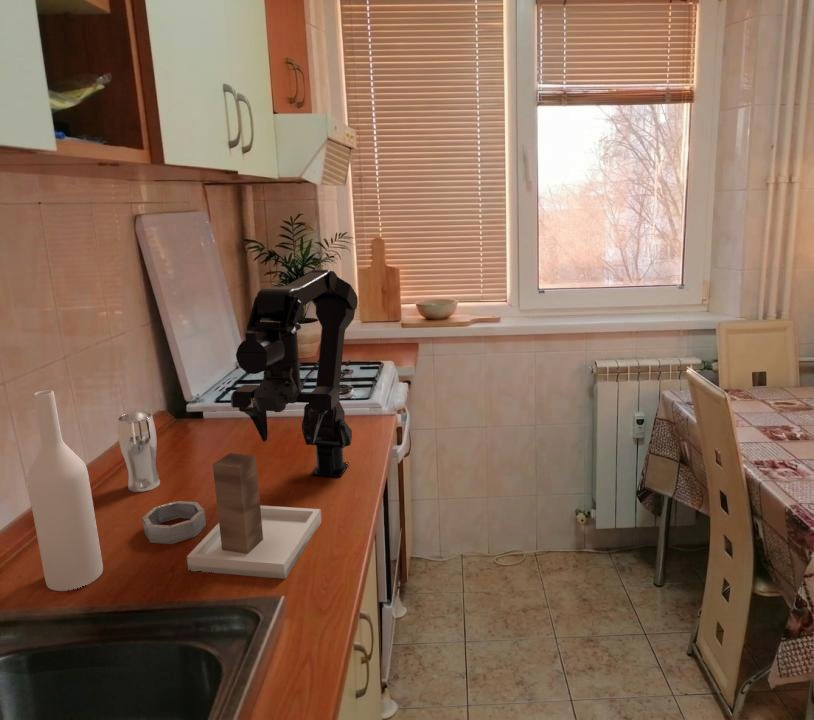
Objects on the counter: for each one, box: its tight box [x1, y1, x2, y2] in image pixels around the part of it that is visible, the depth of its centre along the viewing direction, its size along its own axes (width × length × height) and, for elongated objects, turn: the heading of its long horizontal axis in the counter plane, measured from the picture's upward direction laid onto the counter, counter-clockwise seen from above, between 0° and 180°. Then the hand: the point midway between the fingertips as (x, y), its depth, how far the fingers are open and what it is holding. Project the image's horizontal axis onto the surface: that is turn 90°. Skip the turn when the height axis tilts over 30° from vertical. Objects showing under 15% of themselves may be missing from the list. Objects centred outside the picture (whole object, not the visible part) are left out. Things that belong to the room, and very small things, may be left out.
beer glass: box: [116, 410, 161, 493], centre depth 132 cm, size 7×7×15 cm
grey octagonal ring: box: [142, 500, 207, 545], centre depth 115 cm, size 10×10×3 cm
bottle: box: [26, 389, 104, 592], centre depth 98 cm, size 8×8×30 cm
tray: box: [186, 504, 322, 580], centre depth 109 cm, size 18×16×2 cm
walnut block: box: [212, 452, 263, 554], centre depth 106 cm, size 5×5×15 cm
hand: (288, 441), depth 120 cm, fingers open, 9 cm apart
